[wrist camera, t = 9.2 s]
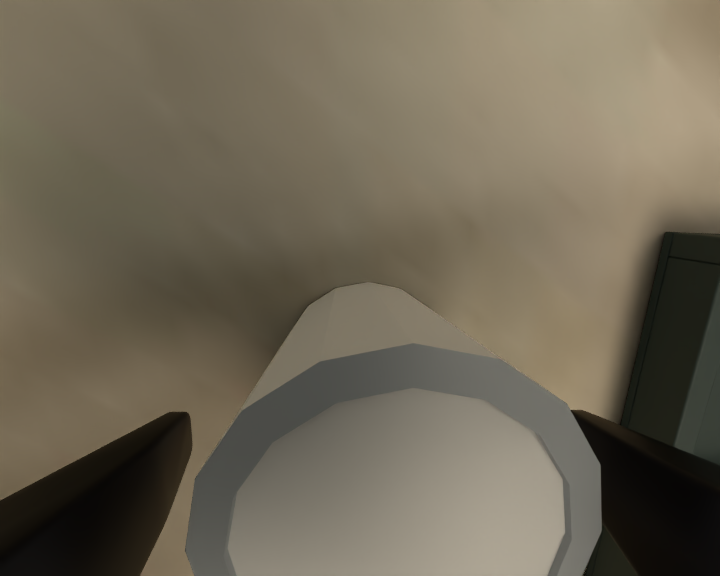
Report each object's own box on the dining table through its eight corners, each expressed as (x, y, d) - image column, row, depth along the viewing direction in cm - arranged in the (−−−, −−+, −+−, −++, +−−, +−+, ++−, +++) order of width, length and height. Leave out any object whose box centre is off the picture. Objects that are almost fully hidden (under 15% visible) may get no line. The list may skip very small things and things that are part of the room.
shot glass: (369, 219, 11) (421, 243, 5) (500, 358, 13) (686, 533, 6) (224, 362, 12) (84, 563, 5) (363, 478, 14) (391, 752, 7)
